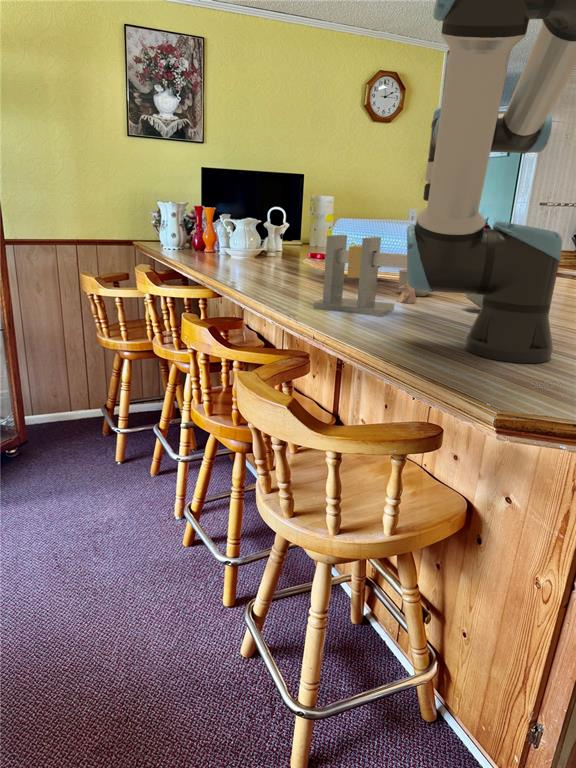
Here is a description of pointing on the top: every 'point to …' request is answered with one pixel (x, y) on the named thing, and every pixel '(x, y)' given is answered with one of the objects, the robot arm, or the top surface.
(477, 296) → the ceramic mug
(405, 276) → the teacup
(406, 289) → the mouse figurine
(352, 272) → the tan block
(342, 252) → the shaft
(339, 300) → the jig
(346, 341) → the top surface
